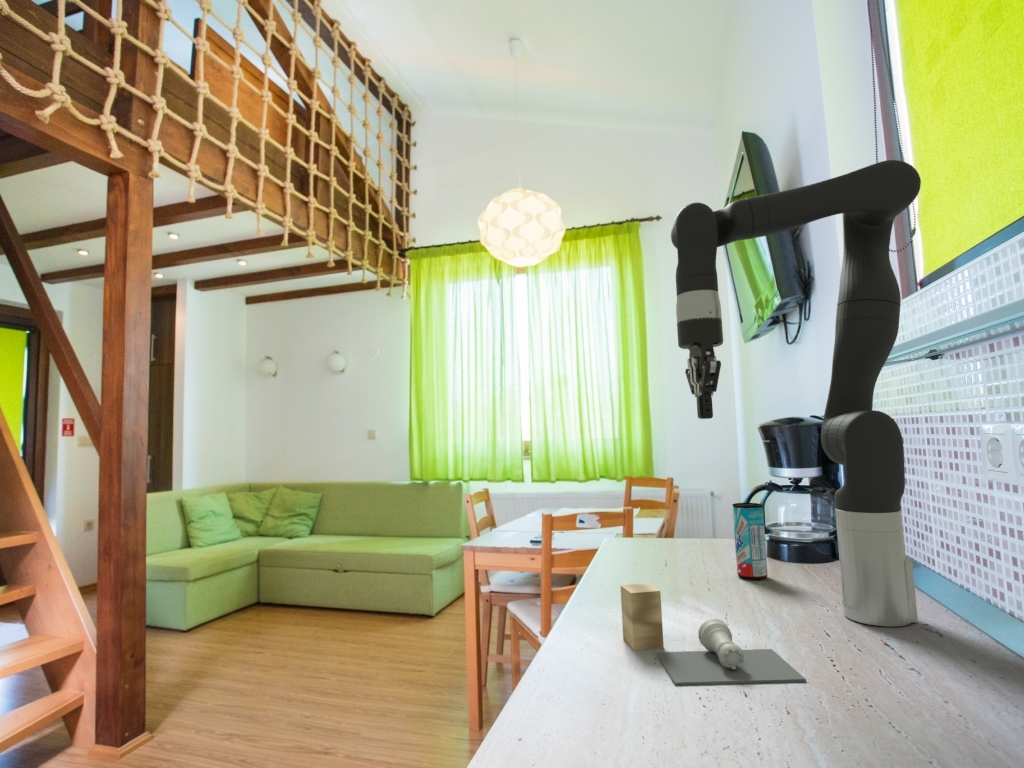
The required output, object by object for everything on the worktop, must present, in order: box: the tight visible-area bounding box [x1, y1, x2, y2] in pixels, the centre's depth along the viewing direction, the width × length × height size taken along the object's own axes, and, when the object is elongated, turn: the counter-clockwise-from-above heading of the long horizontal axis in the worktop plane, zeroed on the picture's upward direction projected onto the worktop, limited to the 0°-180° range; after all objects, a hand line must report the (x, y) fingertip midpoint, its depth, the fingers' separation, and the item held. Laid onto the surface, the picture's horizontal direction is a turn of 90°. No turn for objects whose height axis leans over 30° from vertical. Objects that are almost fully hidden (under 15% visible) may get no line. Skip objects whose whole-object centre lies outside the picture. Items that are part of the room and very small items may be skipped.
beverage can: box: [732, 502, 769, 581], centre depth 122 cm, size 6×6×15 cm
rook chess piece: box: [698, 618, 744, 670], centre depth 78 cm, size 4×4×8 cm
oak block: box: [620, 582, 665, 651], centre depth 86 cm, size 4×4×8 cm
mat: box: [656, 648, 807, 686], centre depth 76 cm, size 16×10×1 cm, turn 89°
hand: (705, 418), depth 100 cm, fingers closed
